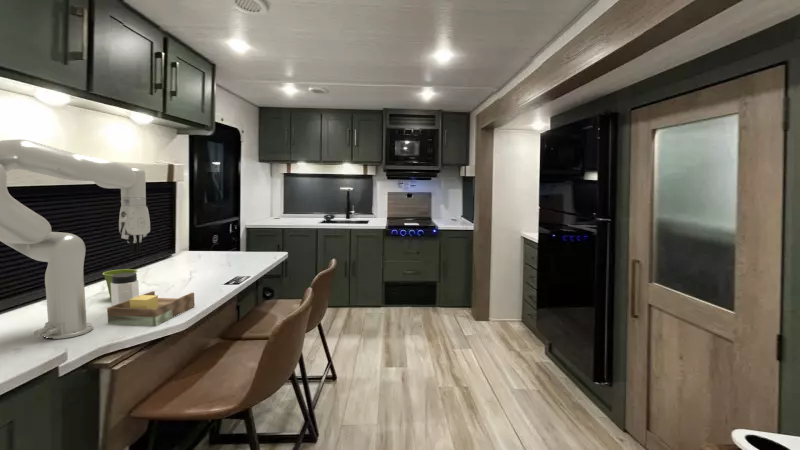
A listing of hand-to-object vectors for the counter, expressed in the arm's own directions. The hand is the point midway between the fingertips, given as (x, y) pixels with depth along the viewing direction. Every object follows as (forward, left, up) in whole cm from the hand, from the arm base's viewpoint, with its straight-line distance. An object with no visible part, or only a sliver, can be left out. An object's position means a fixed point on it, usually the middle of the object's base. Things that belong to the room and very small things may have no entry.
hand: (134, 253), depth 155 cm
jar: (+7, +10, -22) cm, 25 cm away
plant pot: (+15, +18, -22) cm, 32 cm away
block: (-8, -9, -19) cm, 22 cm away
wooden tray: (-2, -8, -22) cm, 23 cm away
